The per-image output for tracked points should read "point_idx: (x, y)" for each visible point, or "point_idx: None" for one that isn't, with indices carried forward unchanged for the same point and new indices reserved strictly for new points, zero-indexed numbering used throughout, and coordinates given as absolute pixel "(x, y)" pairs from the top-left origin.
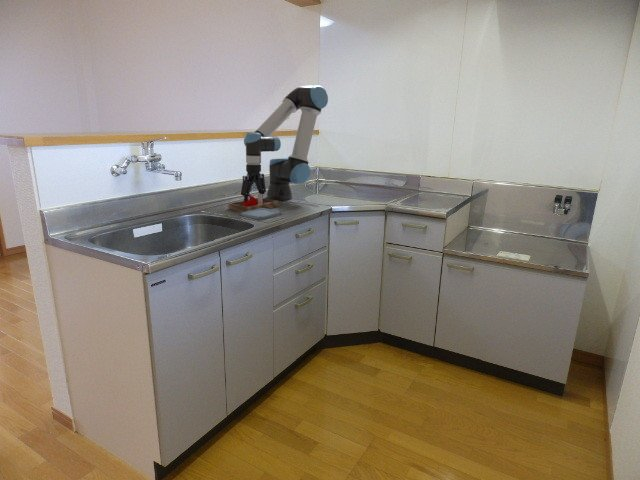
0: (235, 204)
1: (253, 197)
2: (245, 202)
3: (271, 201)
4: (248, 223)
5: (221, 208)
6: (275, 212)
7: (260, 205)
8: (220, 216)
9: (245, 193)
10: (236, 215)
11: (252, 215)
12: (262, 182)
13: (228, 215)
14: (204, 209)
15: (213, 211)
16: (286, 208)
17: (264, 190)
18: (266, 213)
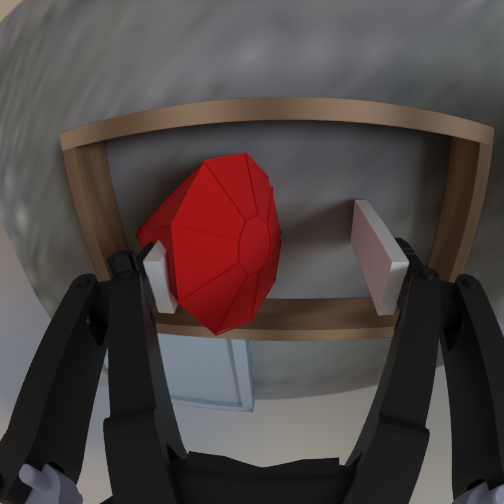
0: (83, 205)
1: (210, 327)
2: None
3: (441, 278)
4: None
5: (71, 72)
6: (237, 396)
7: (237, 335)
8: (15, 245)
9: (101, 334)
10: (70, 284)
11: (107, 368)
12: (459, 426)
13: (41, 257)
14: (7, 57)
15: (13, 130)
16: None
17: (441, 336)
18: (189, 382)
